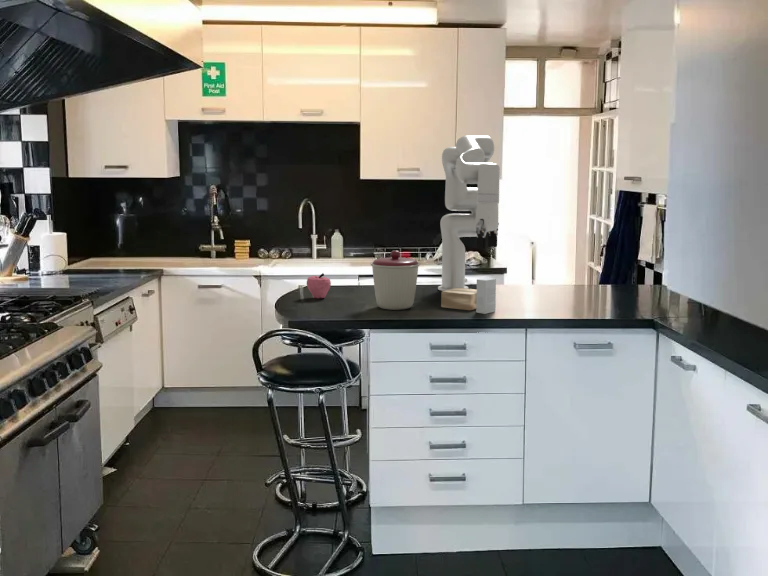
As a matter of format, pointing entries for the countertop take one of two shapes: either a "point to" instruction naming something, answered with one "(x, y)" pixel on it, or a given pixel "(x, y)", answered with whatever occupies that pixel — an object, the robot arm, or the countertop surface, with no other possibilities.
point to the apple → (318, 285)
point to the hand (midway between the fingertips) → (487, 248)
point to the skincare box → (486, 295)
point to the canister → (395, 281)
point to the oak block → (459, 298)
